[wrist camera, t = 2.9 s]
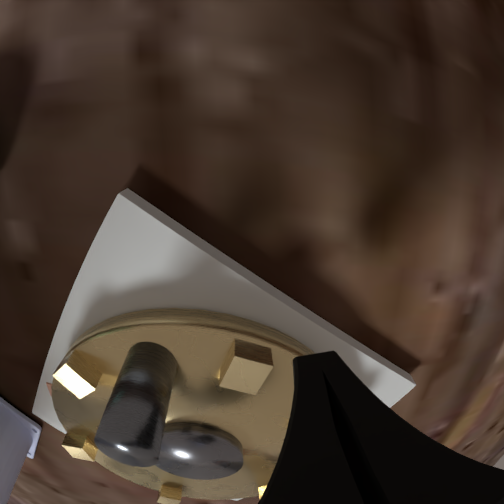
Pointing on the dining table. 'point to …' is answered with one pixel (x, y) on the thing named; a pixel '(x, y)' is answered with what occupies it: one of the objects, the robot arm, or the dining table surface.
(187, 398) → the brass round disc
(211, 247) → the dial plate
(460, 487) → the robot arm
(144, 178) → the dining table surface
